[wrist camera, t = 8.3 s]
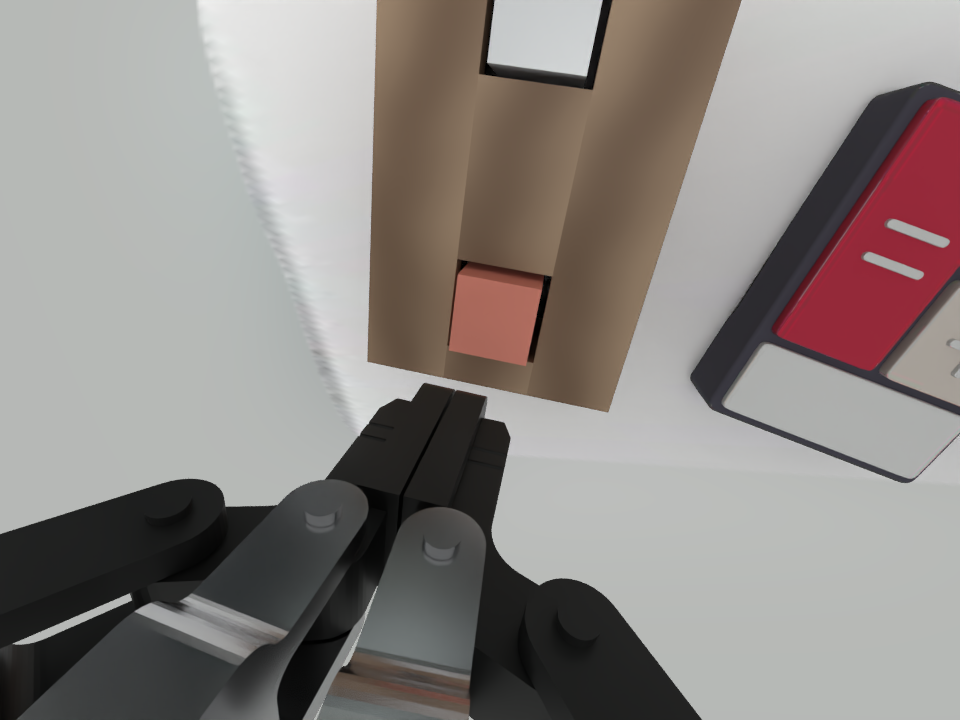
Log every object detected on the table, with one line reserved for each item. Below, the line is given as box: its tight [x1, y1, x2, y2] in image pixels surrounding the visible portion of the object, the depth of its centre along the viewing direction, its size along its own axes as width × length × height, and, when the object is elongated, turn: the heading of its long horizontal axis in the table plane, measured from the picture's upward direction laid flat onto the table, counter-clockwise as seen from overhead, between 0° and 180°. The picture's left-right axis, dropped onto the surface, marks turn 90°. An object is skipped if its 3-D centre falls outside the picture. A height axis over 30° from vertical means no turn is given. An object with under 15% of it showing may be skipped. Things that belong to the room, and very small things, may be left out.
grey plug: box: [487, 0, 603, 89], centre depth 16 cm, size 3×3×7 cm
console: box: [368, 0, 741, 412], centre depth 19 cm, size 11×17×7 cm, turn 172°
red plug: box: [449, 261, 544, 366], centre depth 20 cm, size 3×3×7 cm
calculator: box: [690, 82, 960, 483], centre depth 20 cm, size 11×4×15 cm
